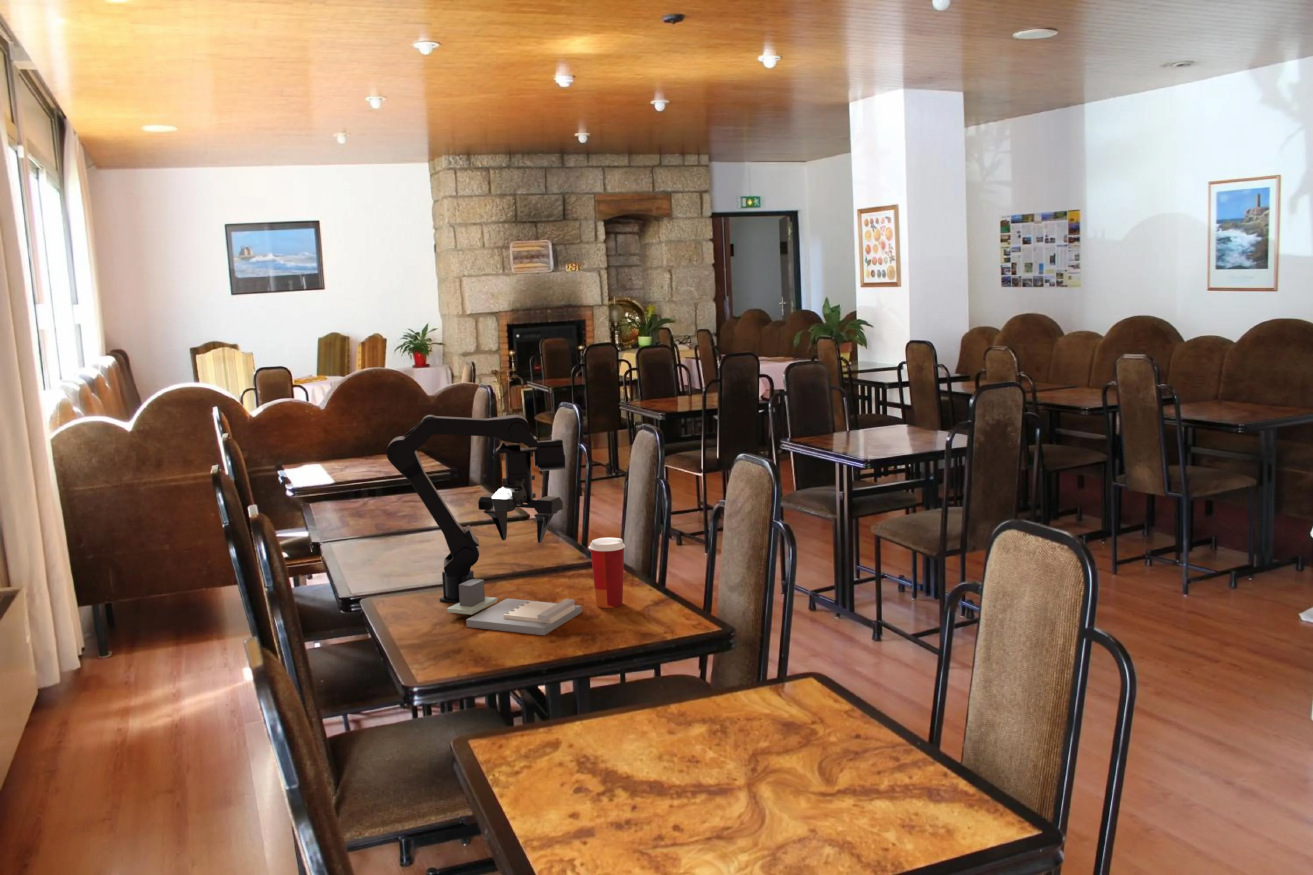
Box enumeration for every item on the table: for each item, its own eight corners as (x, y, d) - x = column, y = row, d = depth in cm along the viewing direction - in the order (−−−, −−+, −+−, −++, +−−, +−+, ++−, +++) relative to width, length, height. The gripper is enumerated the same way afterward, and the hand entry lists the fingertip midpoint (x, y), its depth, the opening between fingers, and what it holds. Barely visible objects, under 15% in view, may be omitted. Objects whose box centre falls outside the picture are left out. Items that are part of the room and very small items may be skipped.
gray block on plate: (447, 612, 230) (445, 587, 229) (473, 599, 239) (472, 575, 238) (471, 614, 228) (470, 589, 227) (497, 601, 237) (496, 577, 236)
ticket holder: (466, 626, 225) (465, 610, 224) (507, 605, 239) (506, 590, 239) (544, 635, 218) (543, 618, 217) (581, 612, 232) (581, 597, 232)
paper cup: (629, 599, 241) (627, 536, 239) (624, 609, 233) (622, 544, 231) (593, 599, 242) (591, 536, 240) (588, 609, 234) (585, 545, 232)
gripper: (462, 476, 241) (466, 546, 243) (537, 480, 233) (540, 552, 235) (489, 468, 251) (493, 535, 253) (562, 471, 243) (565, 540, 245)
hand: (521, 541), depth 246 cm, fingers open, 9 cm apart
